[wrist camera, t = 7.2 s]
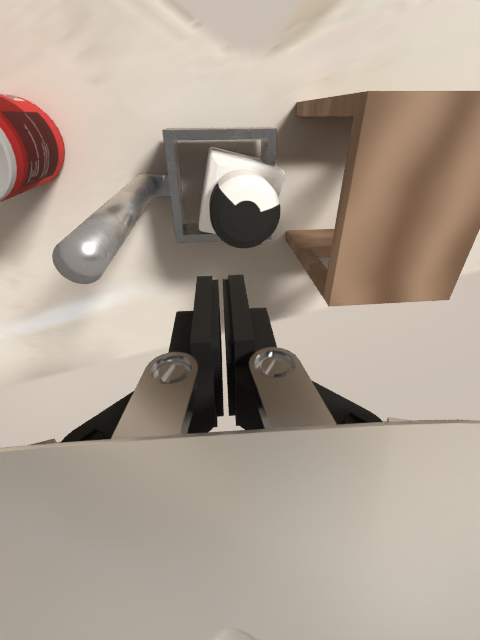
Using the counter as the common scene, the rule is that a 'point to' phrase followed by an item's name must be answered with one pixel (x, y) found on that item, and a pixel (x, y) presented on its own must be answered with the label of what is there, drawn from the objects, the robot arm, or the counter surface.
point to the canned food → (27, 146)
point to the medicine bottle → (240, 198)
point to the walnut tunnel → (398, 198)
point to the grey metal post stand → (144, 206)
